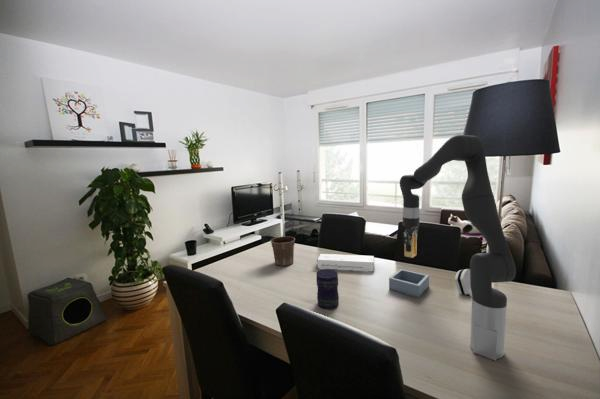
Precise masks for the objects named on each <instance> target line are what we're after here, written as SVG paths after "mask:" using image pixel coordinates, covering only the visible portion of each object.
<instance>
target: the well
mask: <svg viewBox="0 0 600 399" xmlns="http://www.w3.org/2000/svg"><path fill="white" fill-rule="evenodd" d="M429 287H430V275H429V274H424V273H422V272H415V271H413V270H408V269H404V268H400V269H399V270H397V271H396V272H395V273H393V274H392V275H391V276H390V277H389V278H388V290H390V291H393V292H397V293H400V294H402V295H408V296H411V297H413V298H417V299H419V298H421V297H422V296H423V294H424V293H425V292H426V290H428V288H429Z"/></svg>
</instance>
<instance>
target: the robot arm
mask: <svg viewBox="0 0 600 399" xmlns="http://www.w3.org/2000/svg"><path fill="white" fill-rule="evenodd" d="M452 161H456V162H464V163H465V166H466V171H467V179H466V182H465V183H464V186H463V190H462V193H461V201H462V206H463V211H464V215H465V216H466V219H468V221H469V222H470V223H471V224H472V226H473V227H474V228H475V229H477V231H478V232H479V233H480V234H481V235H482V236H483V239H484V240H485V242H486V244H487V247H488V251H489V252H482V253H481V252H479V253H475V254H473V255H472V256H471V258H470V262H469V269H470V286H471V291H472V297H471V310H470V311H471V316H470V317H471V318H470V336H469V339H470V340H469V342H470V343H469V345H470V347H471V350H472V353H473V354H476V355H479V356H482V357H484V358H487V359H490V360H493V361H495V362H496V361H497V360H499V359H502V358H503V357H504V355H505V338H506V322H507V304H508V299H507V295H506V294H505V293H504V292H502V291H500V290H498V289H496V288H493V287H492V286H493V284H494V283H509V282H512V281H514V280H515V277H516V275H517V270H516V263H515V260H514V257H513V255H512V253H511V250H510V248H509V244H508V242H507V239H506V237H505V234H504V230H503V227H502V224H501V220H500V217H499V212H498V208H497V204H496V200H495V196H494V192H493V190H492V189H493V188H492V186H491V182H490V181H491V180H490V176H489V172H488V166H487V158H486V150H485V146H484V142H483V141H482V139H481V138H480V137H479V136H477V135H470V134H469V135H467V134H455V135H453V136H451V137H450V138H448V139H447V141H445V142H444V143H443V145H442V146H441V147H440V148H439V149H438V150H437V151H436V152H435V153H434V154H433V155H432V156H431V158H429V159H428V160H427V161H426V162H424V163H423V164H422V165H420V166H419V167H418V168H417V169H415V170H414V173H413V174H404V175H402V176H401V177H400V178H399V187H400V191H401V195H402V198H403V200H402V201H403V202H402V203H403V204H402V207H403V209H402V226H404V227H405V230H404V232H402V239H403V245H404V244H406V251H407V252H410V251H411V240H412V237H413V236H416V234H417V237H418V235H419V234H418V233H419V227H420V218H421V217H420V213H421V212H420V196H419V194H416V193H415V194H414V193H413V192H412V190H418V189H421V188H423V187H424V186H425V185H426V184H427V182H428V181H429V180H432V179H433V178H435V177H437V175H438V174H439V173H440V172H441V170H442V166H444V165H445V164H448V163H449V162H452ZM409 236H411V238H409ZM409 240H410V241H409ZM407 241H408V242H407Z"/></svg>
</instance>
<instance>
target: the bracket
mask: <svg viewBox="0 0 600 399" xmlns="http://www.w3.org/2000/svg"><path fill="white" fill-rule="evenodd" d="M409 238H411V236H409ZM417 240H418V236H417V234H416V236H413V237H412V240H411V251H410V252H407V251H406V244H404V243H403V245H404V246H403V247H404V250H403V251H404V253H403V254H404V257H406V258H412V259H413V258H414V257H416V256H417V246H418V245H417V242H418V241H417ZM409 241H410V240H409ZM407 242H408V241H407Z"/></svg>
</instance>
